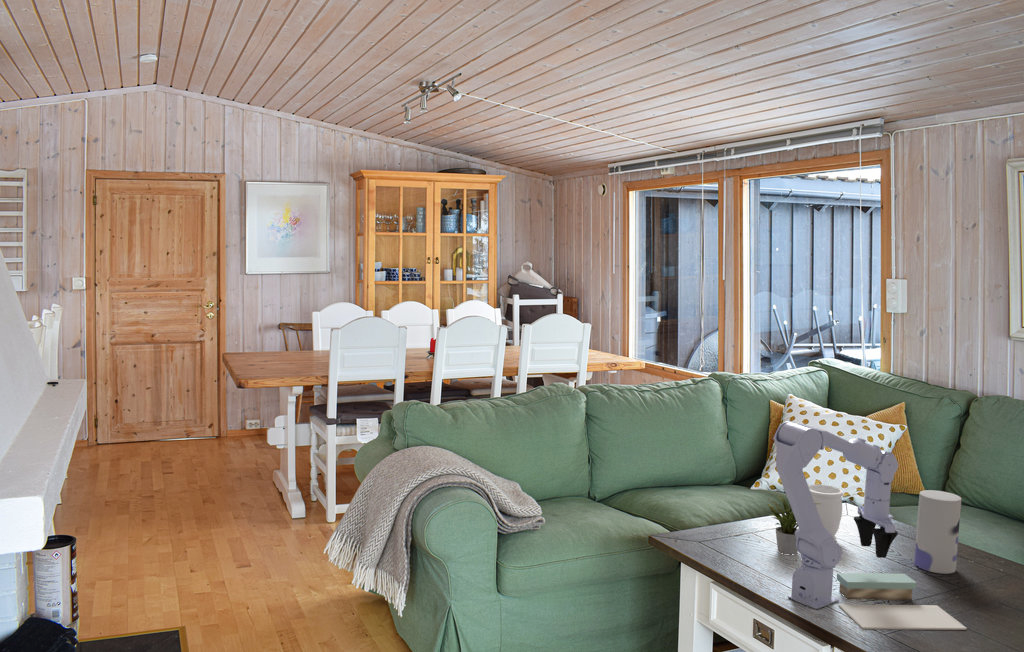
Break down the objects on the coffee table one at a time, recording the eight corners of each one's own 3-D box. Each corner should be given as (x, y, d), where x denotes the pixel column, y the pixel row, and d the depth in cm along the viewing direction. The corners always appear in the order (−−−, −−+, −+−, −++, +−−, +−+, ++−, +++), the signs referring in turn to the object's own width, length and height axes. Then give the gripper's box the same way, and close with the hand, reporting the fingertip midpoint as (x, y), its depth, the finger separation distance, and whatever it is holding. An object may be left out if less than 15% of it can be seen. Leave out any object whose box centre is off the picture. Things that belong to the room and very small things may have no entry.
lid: (846, 588, 199) (847, 582, 199) (836, 579, 205) (837, 573, 205) (916, 589, 200) (916, 582, 200) (904, 579, 206) (904, 573, 206)
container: (960, 576, 218) (966, 501, 216) (920, 572, 219) (925, 498, 218) (948, 562, 227) (954, 491, 226) (909, 558, 229) (915, 488, 227)
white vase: (816, 546, 237) (819, 495, 236) (794, 534, 247) (797, 484, 246) (847, 543, 240) (851, 493, 239) (825, 531, 250) (828, 483, 248)
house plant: (811, 544, 238) (815, 489, 237) (824, 562, 224) (828, 503, 223) (760, 541, 239) (763, 486, 238) (770, 559, 226) (774, 500, 224)
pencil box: (847, 599, 200) (848, 583, 200) (839, 592, 205) (840, 576, 204) (911, 599, 201) (912, 584, 201) (902, 592, 205) (903, 576, 205)
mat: (862, 629, 184) (862, 627, 184) (838, 606, 196) (838, 604, 196) (966, 629, 186) (966, 628, 185) (936, 606, 197) (936, 605, 197)
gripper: (908, 507, 196) (904, 562, 197) (878, 489, 210) (874, 541, 212) (880, 506, 196) (876, 562, 197) (851, 489, 210) (847, 541, 211)
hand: (873, 551), depth 204 cm, fingers open, 7 cm apart
